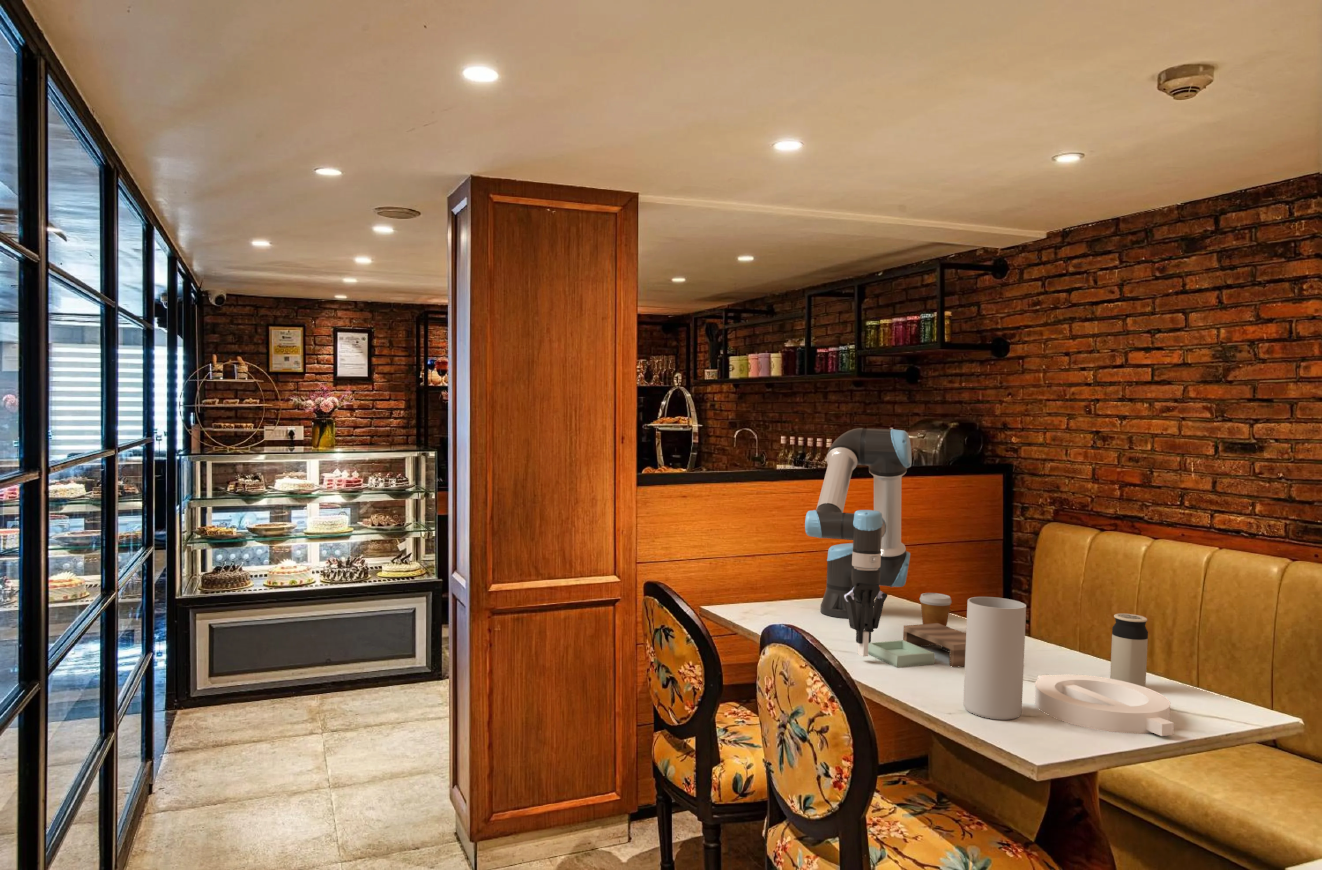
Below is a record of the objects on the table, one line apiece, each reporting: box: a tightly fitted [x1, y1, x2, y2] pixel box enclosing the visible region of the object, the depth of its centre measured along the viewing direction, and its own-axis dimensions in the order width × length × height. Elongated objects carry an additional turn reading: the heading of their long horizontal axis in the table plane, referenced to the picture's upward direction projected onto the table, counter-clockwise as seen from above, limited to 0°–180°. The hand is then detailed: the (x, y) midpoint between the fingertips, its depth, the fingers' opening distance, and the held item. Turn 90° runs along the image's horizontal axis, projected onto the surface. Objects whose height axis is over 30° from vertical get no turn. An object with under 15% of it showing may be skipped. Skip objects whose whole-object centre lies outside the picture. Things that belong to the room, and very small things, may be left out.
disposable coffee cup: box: [918, 592, 953, 627], centre depth 277 cm, size 10×10×12 cm
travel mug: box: [1109, 613, 1149, 687], centre depth 228 cm, size 8×8×18 cm
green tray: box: [868, 639, 936, 668], centre depth 249 cm, size 14×12×3 cm
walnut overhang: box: [902, 623, 966, 668], centre depth 254 cm, size 22×12×6 cm, turn 21°
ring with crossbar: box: [1033, 674, 1175, 737], centre depth 209 cm, size 28×28×5 cm
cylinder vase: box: [962, 596, 1027, 721], centre depth 206 cm, size 12×12×25 cm
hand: (862, 654), depth 244 cm, fingers closed
